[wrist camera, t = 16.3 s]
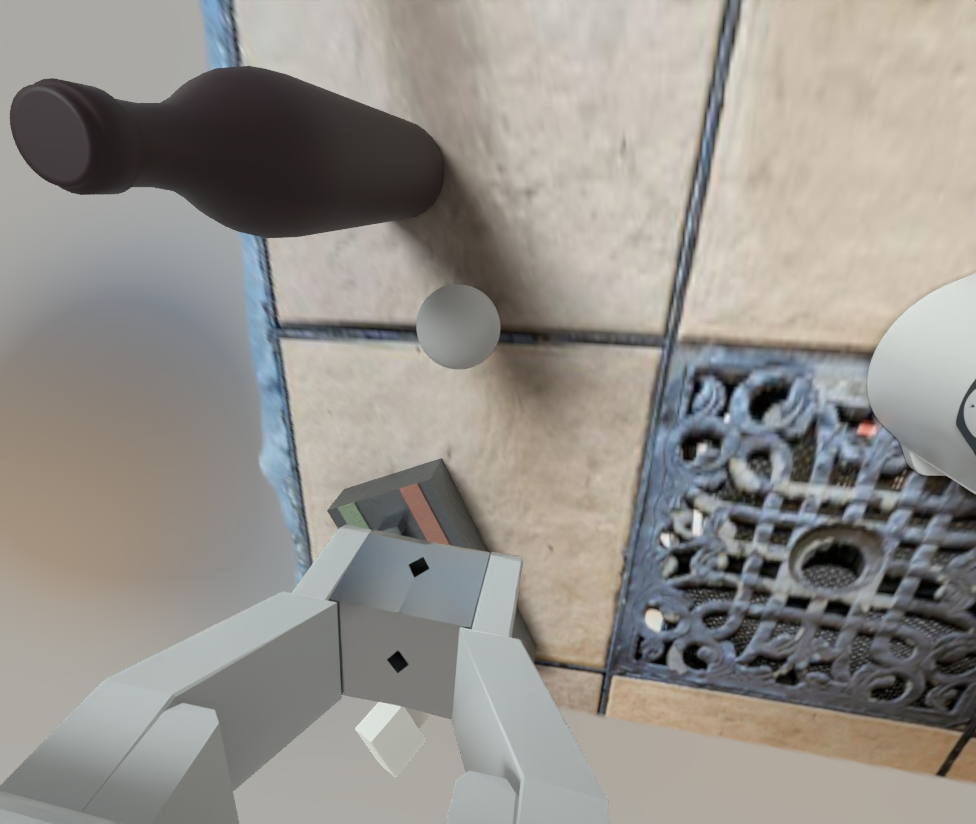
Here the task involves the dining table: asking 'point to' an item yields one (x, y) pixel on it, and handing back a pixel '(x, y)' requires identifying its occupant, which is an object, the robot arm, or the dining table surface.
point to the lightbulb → (458, 326)
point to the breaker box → (417, 515)
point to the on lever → (392, 735)
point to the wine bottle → (235, 150)
